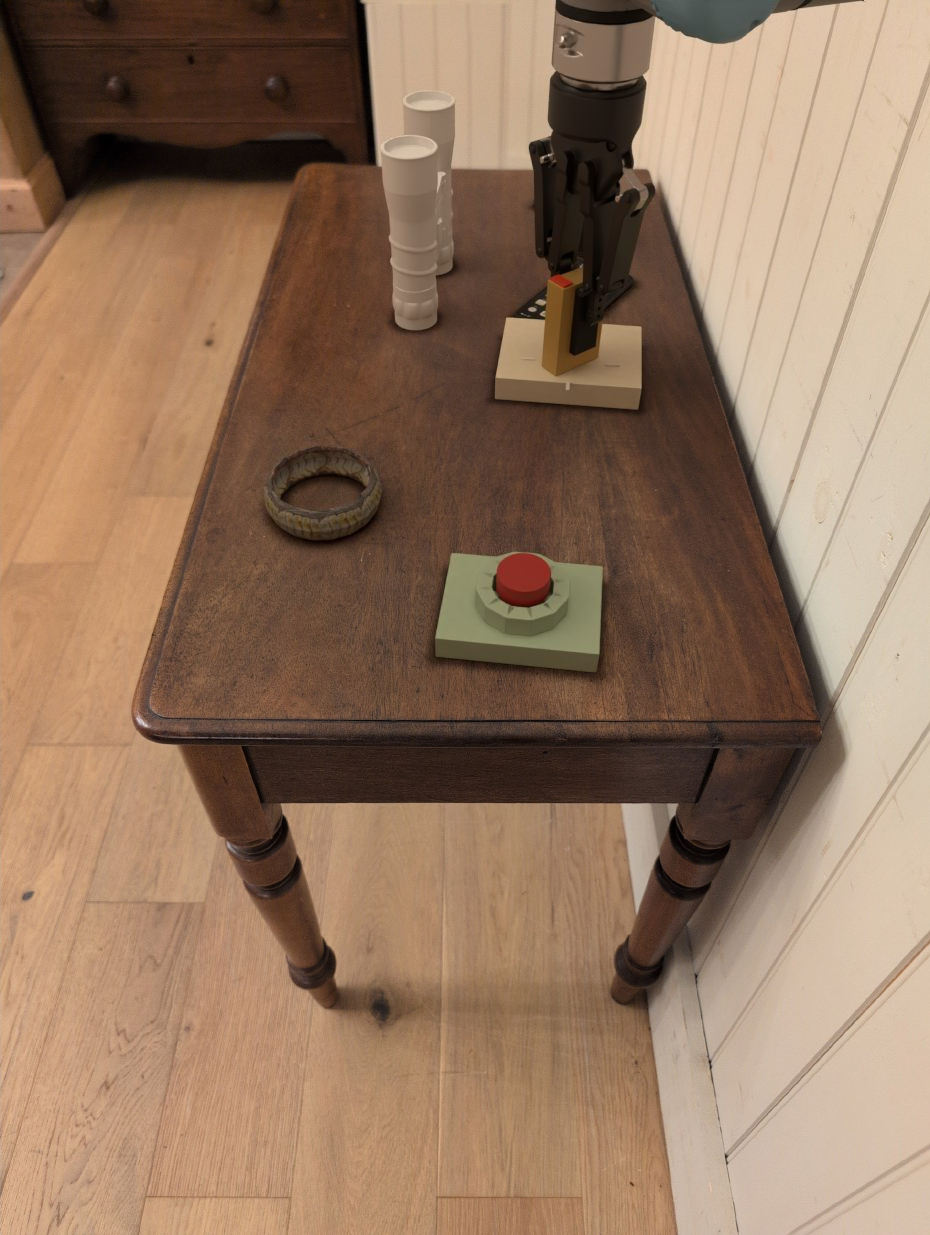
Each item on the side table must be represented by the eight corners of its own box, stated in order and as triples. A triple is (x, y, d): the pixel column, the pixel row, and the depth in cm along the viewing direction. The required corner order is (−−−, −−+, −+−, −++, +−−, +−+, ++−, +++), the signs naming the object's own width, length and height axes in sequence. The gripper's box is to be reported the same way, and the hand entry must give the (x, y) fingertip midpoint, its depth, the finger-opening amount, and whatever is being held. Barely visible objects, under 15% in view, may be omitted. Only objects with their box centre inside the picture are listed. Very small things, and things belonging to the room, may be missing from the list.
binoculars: (436, 334, 98) (432, 159, 85) (386, 330, 99) (374, 156, 85) (459, 256, 109) (458, 91, 96) (414, 253, 110) (407, 88, 96)
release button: (551, 571, 70) (552, 555, 68) (547, 610, 67) (549, 594, 66) (498, 566, 70) (499, 550, 69) (493, 605, 67) (493, 588, 66)
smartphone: (636, 277, 105) (571, 335, 96) (636, 282, 105) (570, 340, 97) (580, 258, 108) (511, 313, 99) (579, 264, 108) (511, 319, 100)
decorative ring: (391, 473, 83) (283, 464, 84) (389, 444, 80) (278, 435, 81) (371, 551, 76) (253, 541, 77) (367, 522, 74) (246, 512, 75)
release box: (599, 585, 74) (605, 549, 71) (596, 673, 68) (602, 638, 65) (451, 571, 75) (451, 535, 72) (435, 657, 69) (434, 621, 66)
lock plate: (638, 347, 96) (641, 324, 94) (638, 418, 88) (642, 395, 86) (505, 338, 98) (506, 315, 96) (493, 407, 89) (493, 384, 87)
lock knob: (583, 347, 92) (593, 259, 85) (598, 357, 91) (609, 269, 84) (541, 366, 90) (547, 277, 83) (555, 376, 88) (563, 287, 82)
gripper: (499, 56, 74) (492, 321, 91) (632, 115, 65) (596, 393, 83) (570, 37, 77) (550, 297, 94) (705, 91, 68) (656, 365, 86)
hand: (572, 342), depth 89 cm, fingers closed on lock knob, 2 cm apart
